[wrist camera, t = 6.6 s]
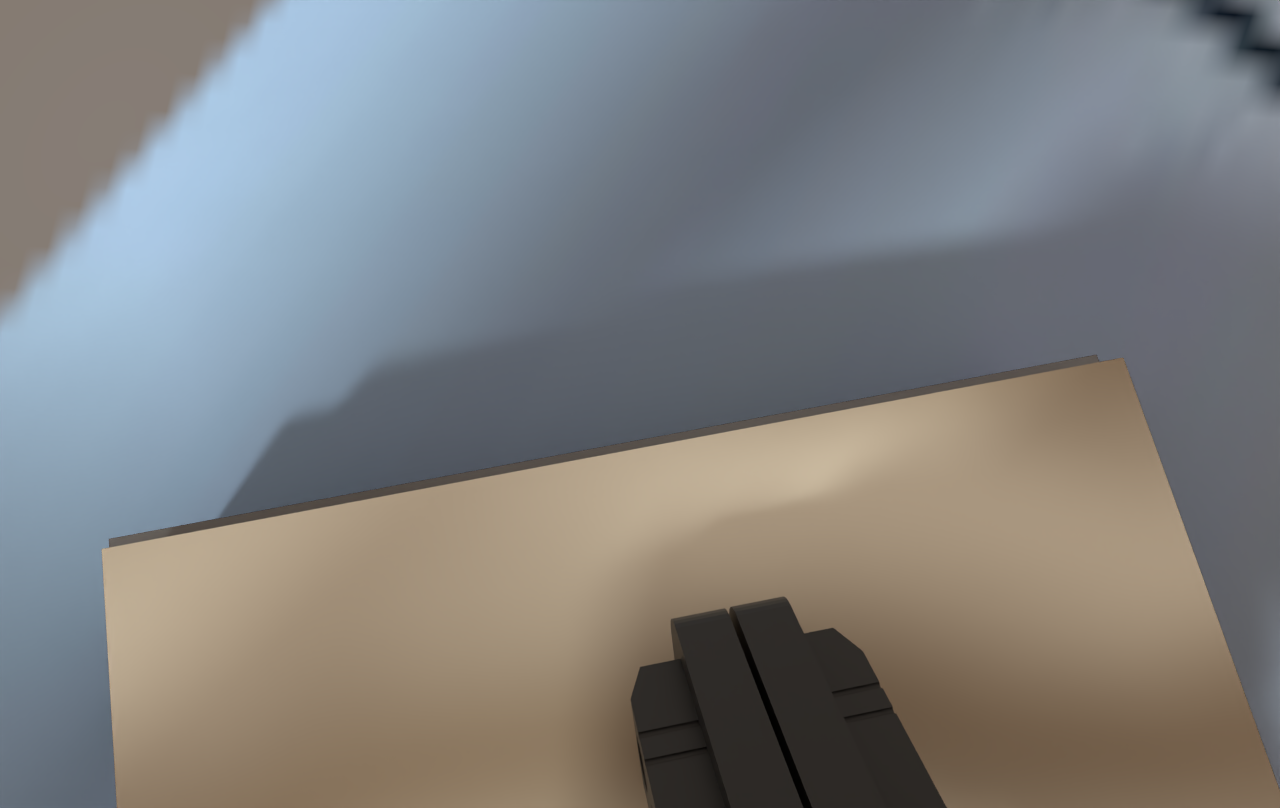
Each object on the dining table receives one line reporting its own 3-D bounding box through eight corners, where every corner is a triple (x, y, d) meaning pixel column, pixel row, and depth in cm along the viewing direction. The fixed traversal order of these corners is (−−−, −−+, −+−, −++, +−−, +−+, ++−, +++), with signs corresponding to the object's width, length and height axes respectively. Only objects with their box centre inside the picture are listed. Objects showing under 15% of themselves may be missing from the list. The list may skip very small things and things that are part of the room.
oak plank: (1297, 1022, 15) (1374, 1053, 13) (199, 1317, 13) (151, 1390, 12) (1078, 388, 17) (1123, 357, 16) (144, 565, 16) (101, 548, 14)
